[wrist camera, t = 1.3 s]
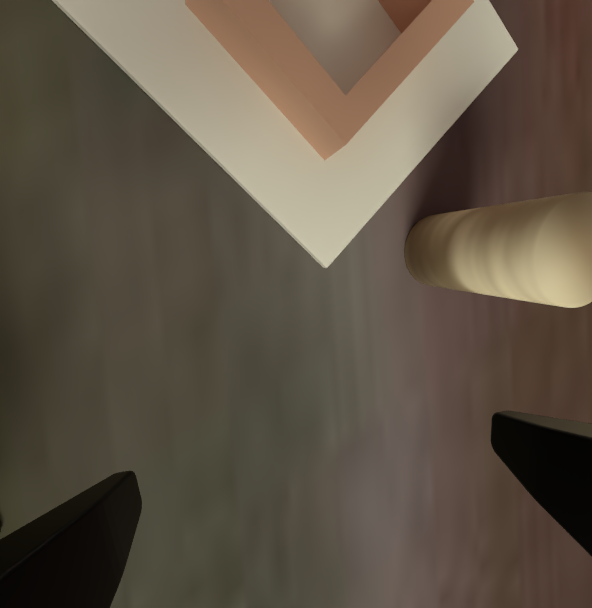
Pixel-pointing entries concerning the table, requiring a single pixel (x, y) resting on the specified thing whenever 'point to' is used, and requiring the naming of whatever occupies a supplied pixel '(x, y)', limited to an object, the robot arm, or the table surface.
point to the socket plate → (307, 91)
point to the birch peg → (509, 250)
